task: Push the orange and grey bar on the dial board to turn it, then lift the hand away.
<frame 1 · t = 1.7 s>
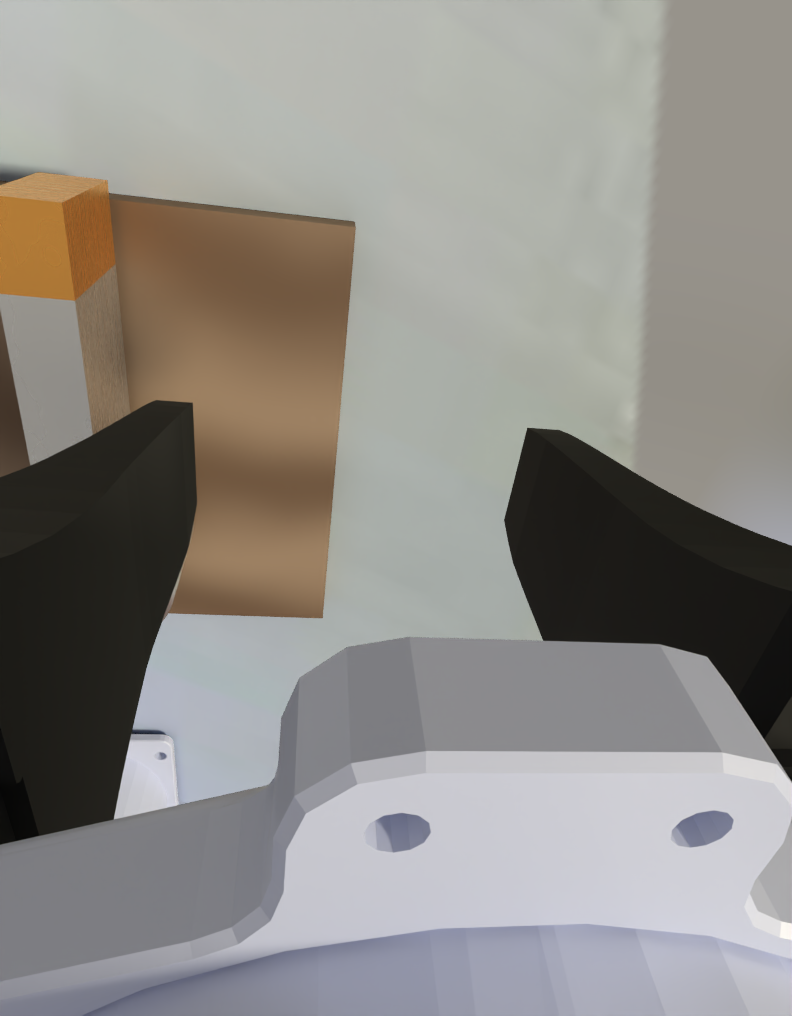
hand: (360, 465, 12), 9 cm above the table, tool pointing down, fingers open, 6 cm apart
dial board: (124, 496, 23), on the table
orange and grey bar: (84, 436, 18), point 3 cm above the table, hinge at 0.0°
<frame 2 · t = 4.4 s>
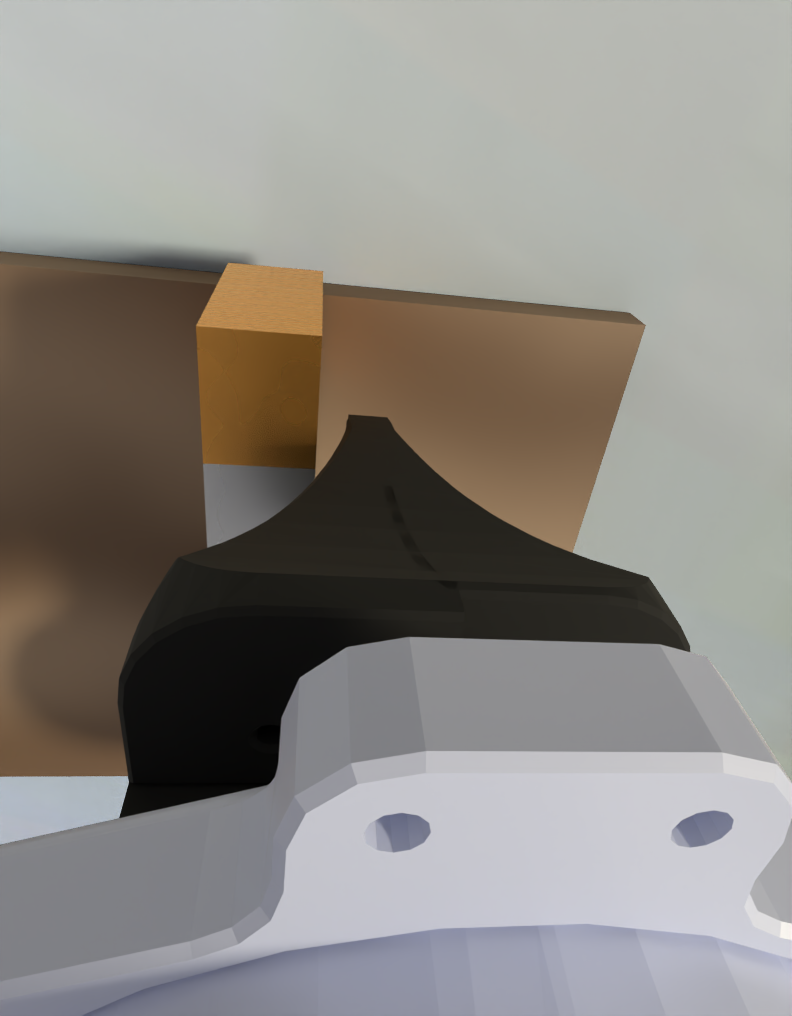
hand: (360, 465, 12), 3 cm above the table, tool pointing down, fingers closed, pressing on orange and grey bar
dial board: (273, 643, 18), on the table
orange and grey bar: (266, 609, 13), point 3 cm above the table, hinge at 0.5°, touching gripper
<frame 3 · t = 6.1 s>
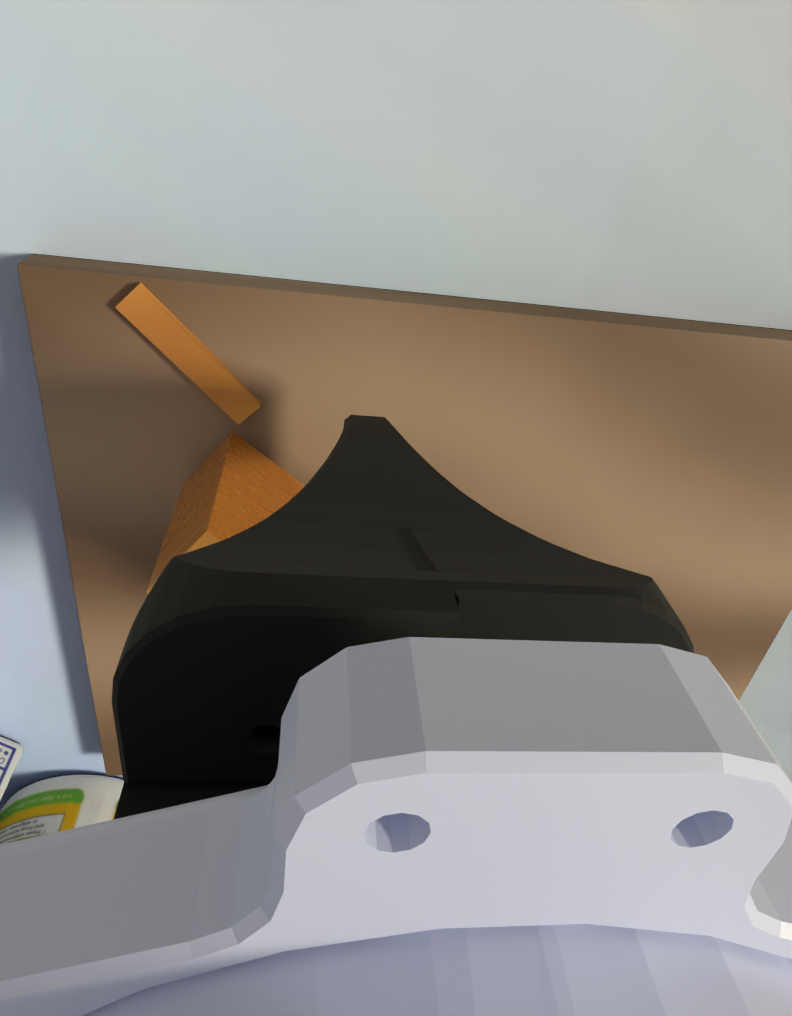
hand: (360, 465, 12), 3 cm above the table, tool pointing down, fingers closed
dial board: (509, 649, 19), on the table
orange and grey bar: (431, 664, 15), point 3 cm above the table, hinge at 51.9°, touching gripper
supplement bottle: (94, 815, 21), on the table
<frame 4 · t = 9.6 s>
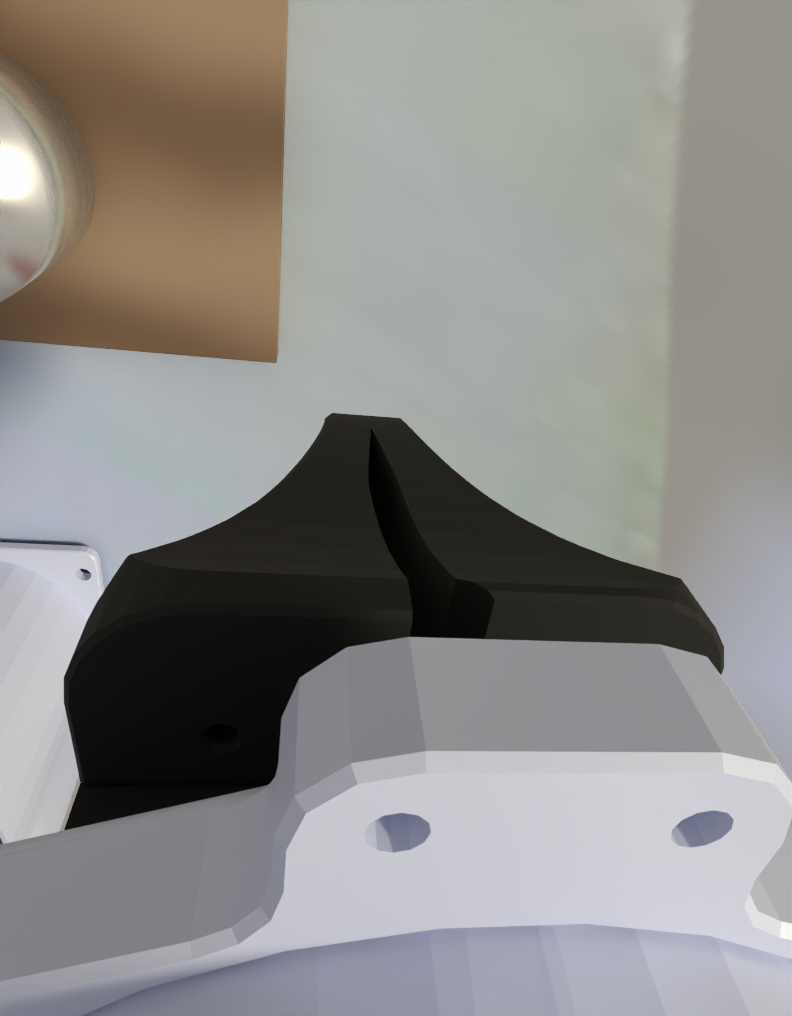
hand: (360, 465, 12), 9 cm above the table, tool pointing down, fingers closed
dial board: (5, 160, 17), on the table
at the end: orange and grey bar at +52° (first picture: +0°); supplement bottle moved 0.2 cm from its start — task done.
